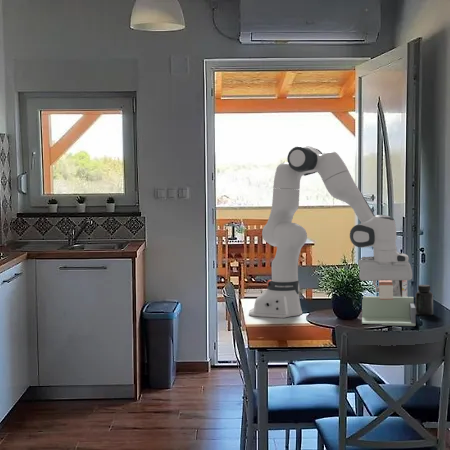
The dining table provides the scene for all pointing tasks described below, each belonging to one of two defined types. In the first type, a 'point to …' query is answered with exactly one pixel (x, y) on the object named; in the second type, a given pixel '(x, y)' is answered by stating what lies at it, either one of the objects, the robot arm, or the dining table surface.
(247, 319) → the dining table surface
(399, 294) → the coffee box
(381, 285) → the beige box
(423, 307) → the supplement bottle
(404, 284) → the ink cartridge box
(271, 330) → the dining table surface
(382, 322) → the pale green storage bin
